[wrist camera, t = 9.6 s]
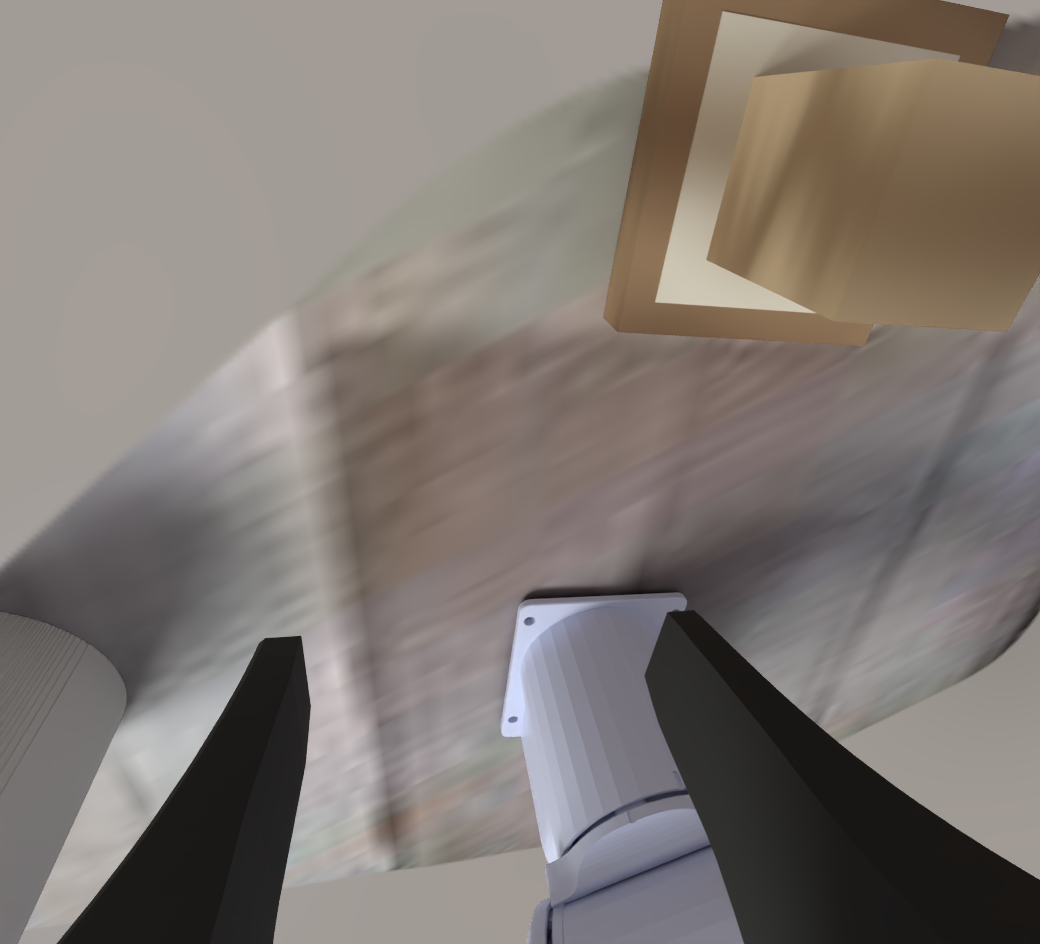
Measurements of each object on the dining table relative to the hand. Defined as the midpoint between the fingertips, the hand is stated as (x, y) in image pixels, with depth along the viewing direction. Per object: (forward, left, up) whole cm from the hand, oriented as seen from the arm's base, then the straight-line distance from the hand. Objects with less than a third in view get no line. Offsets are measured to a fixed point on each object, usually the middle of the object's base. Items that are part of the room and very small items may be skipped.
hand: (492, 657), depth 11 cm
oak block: (+9, -9, -9) cm, 15 cm away
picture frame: (+8, -9, -10) cm, 16 cm away
